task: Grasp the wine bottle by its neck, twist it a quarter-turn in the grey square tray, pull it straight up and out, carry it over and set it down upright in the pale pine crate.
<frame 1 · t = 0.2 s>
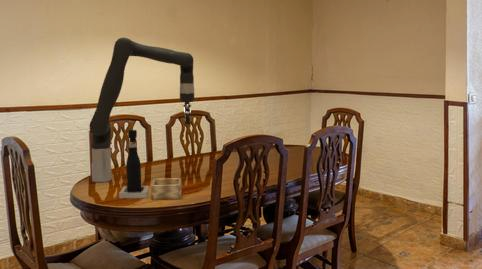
hand: (187, 123, 246), 29 cm above the table, fingers open, 8 cm apart
wine bottle: (134, 195, 218), resting in grey square tray
grey square tray: (134, 194, 218), on the table
crate: (166, 195, 217), on the table
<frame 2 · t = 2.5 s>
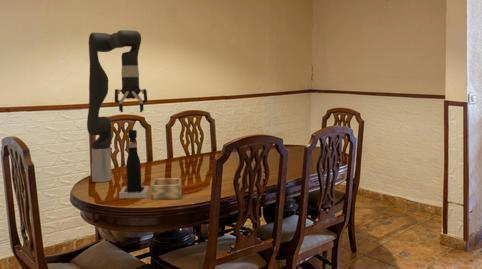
hand: (131, 112, 213), 38 cm above the table, fingers open, 8 cm apart
nothing on the table moved.
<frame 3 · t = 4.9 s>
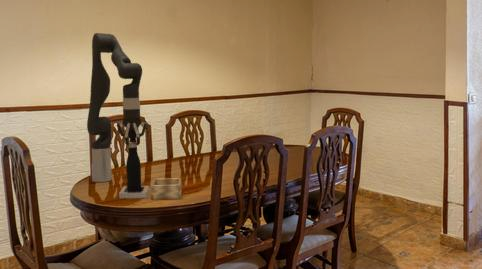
hand: (132, 145, 215), 23 cm above the table, fingers closed on wine bottle, 4 cm apart
wine bottle: (134, 195, 218), resting in grey square tray, touching gripper
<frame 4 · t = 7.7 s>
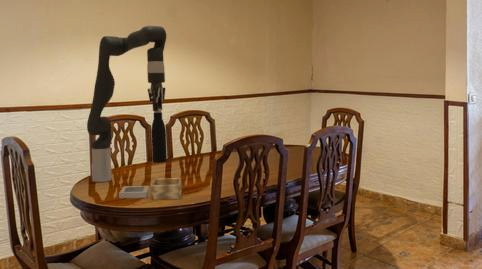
hand: (157, 110, 211), 39 cm above the table, fingers closed on wine bottle, 4 cm apart
wine bottle: (159, 162, 214), point 16 cm above the table, touching gripper
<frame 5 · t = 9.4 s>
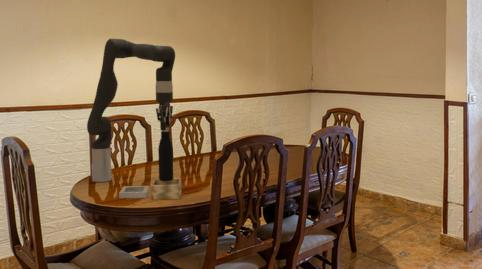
hand: (165, 129, 213), 31 cm above the table, fingers closed on wine bottle, 4 cm apart
wine bottle: (166, 180, 216), point 7 cm above the table, touching gripper
when the fingers open (25 cm above the table, at t = 10.9 s): wine bottle stays where it is, resting on crate.
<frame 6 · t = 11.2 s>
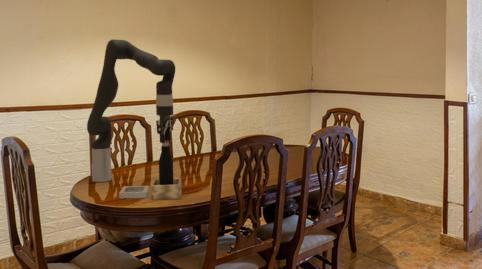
hand: (165, 141, 213), 25 cm above the table, fingers open, 6 cm apart
wine bottle: (166, 194, 217), point 1 cm above the table, touching crate
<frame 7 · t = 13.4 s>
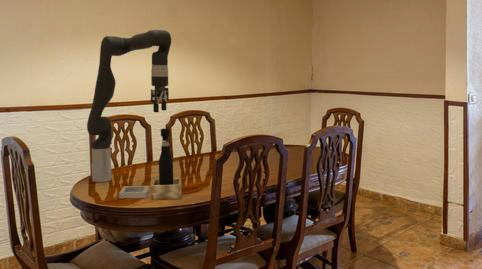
hand: (160, 111, 215), 39 cm above the table, fingers open, 8 cm apart
nothing on the table moved.
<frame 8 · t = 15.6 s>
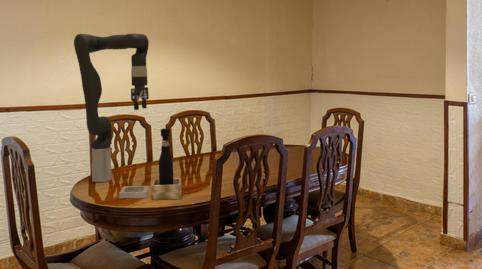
hand: (140, 109, 231), 38 cm above the table, fingers open, 8 cm apart
nothing on the table moved.
at the end: wine bottle inside the target area on the crate (0.1 cm from its centre), point 0.6 cm above the crate's base; wine bottle tilted 0°; the gripper is holding nothing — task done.
